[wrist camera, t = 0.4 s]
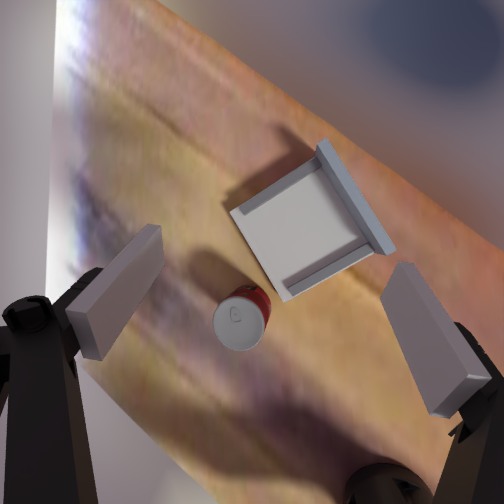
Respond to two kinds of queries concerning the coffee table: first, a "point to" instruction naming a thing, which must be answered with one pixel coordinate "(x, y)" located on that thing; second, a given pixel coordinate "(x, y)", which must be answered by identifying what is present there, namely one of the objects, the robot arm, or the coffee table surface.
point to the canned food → (242, 318)
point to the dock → (310, 224)
